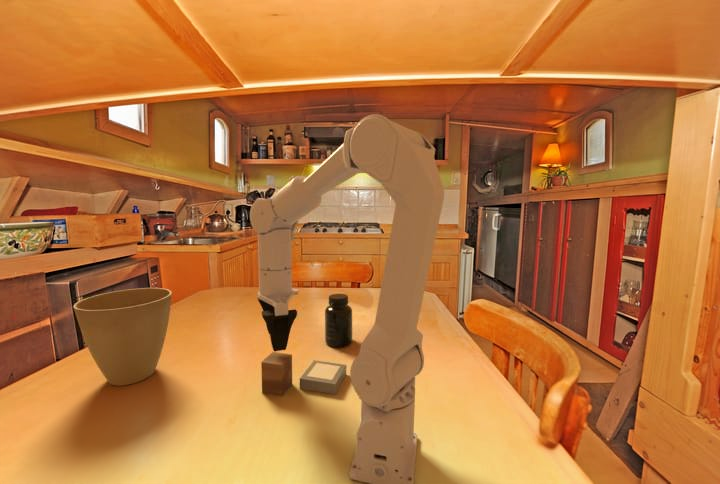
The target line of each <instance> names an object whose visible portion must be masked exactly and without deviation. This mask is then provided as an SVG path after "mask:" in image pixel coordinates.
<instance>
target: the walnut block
mask: <svg viewBox="0 0 720 484" xmlns="http://www.w3.org/2000/svg"><path fill="white" fill-rule="evenodd" d="M260 363H261V364H260V365H261V393H262V394H264V395H268V396H269V395H270V396H276V397H284V395H285V394H286V392H288V391H289V389H290V388H291V386H292V385H293V354H291V353H286V352H285V353H283V352H278V351H272V352H271V353H270V354H269V355H268V356H266V358H264V359H263V360H262V361H261V362H260Z"/></svg>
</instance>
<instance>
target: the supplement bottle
mask: <svg viewBox="0 0 720 484" xmlns="http://www.w3.org/2000/svg"><path fill="white" fill-rule="evenodd" d="M324 337H325V338H324V339H325V344H326V345H327V346H329V347H331V348H334V349H335V348H336V349H340V348H346V347H349V346H350V345H351V344H352V342H353V308H352V307H351V305H349V295H347V294H345V293H333V294H330V295H328V306H326V307H325V310H324Z"/></svg>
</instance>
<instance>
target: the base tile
mask: <svg viewBox="0 0 720 484" xmlns="http://www.w3.org/2000/svg"><path fill="white" fill-rule="evenodd" d="M346 376H347V364H345V363H344V364H343V363H335V362H330V361H321V360H315V359H314V360H313V361H312V362H311V364H310V365H309V366H308V368H307V369H306V370H305V371H304V372H303V374H302V375H301V376H300V377H299V389H300V390H304V391H305V390H306V391H310V392H311V391H312V392H319V393H325V394H330V395H336V394H337V393H338V390H339V388H340V387H341V385H342V383H343V382H344V379H345V377H346Z"/></svg>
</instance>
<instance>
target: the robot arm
mask: <svg viewBox="0 0 720 484" xmlns="http://www.w3.org/2000/svg"><path fill="white" fill-rule="evenodd" d="M435 155H436V147H434V146H433V145H432V143H431V142H430V141H429V140H428V139H427V138H426V137H425V135H423V134H422V133H421V132H420V131H417V130H413V129H411V128H407V127H405V126H403V125H401V124H399V123H397V122H394V121H392V120H390V119H389V118H388V117H386V116H385V115H382V114H378V113H373V114H368V115H366V116H365V117H363V118H361V119H360V120H359V121H358V123H357V124H356V125H355V126H353V127H352V128H350V129H348V130H346V132H345V134H344V140H343V143H342V144H341V145H340V146H339V147H338V148H337V149H336V150H335V151H334V152H332V153H331V154H330V155H329V157H327V158H326V159H325V160H324V161H323V162H322V163H321V164H319V166H318V167H316V169H314V170H313V171H312V172H311V173H310V174H309V175H308V176H304V175H296V176H295V175H292V176H291V177H290V178H288V182H287V184H285V185H284V186H283V187H281V188H280V189H279V190H278V191H275V192H273V194H272V196H271V197H269V198H268V197H267V198H260V197H258V198H256V199H255V201H254V202H253V203H252V205H251V207H250V210H249V221H250V224H251V227H252V229H253V231H254V232H256V233H257V259H258V260H257V261H258V262H257V263H258V264H257V265H258V292H257V301H258V303H259V304H260V307H261V308H262V311H261V316H262V319H263V320H264V322H265V325H266V329H267V332H268V334H269V337H270V343H271V348H272V350H273V352H278V351H285V350H286V349H287V347H288V343H289V338H290V333H291V330H292V329H291V328H292V326H293V324H294V321H295V320H296V319H297V317H298V310H297V309H296V308H295V309H289V303H290V302H291V299H292V298H293V296H296V295H299V294H300V291H299V289H298V288H293V268H292V267H293V266H292V264H293V261H292V260H293V259H292V251H293V250H292V242H293V241H294V239H295V231H296V229H297V227H298V224H299V220H301V219H303V218H304V217H306V216H307V215H309V214H310V213H311V212H313V211H314V210H316V209H317V208H318V207H319V206H320V205H321V202H322V196H323V195H325V194H326V193H328V192H330V191H331V190H333V189H335V188H336V187H338V186H340V185H342V184H343V183H344V182H347V181H348V180H350V179H352V178H354V177H355V176H356V175H357V174H365V175H368V176H369V177H371V178H372V179H374V180H375V181H376V182H378V183H380V184H381V186H382V187H383V188H384V191H386V193H387V194H388V195H389V196H390V198H391V199H392V200H393V202H394V204H395V207H394V213H393V219H392V224H391V230H390V235H389V240H388V241H389V242H388V245H387V251H386V258H385V263H384V269H383V275H382V282H381V286H380V291H379V292H380V293H379V297H378V303H377V309H376V315H375V321H374V323H373V325H372V326H371V329H370V330H369V332H368V333H367V334H366V336H365V337H364V338H363V341H362V342H361V344H360V349H359V352H358V355H357V357H356V358H355V359H354V360H353V362H352V363H351V365H350V370H349V376H350V382H351V385H352V387H353V390H354V392H355V393H356V395H357V396H358V398H359V400H361V403H360V404H361V406H360V407H361V408H360V409H361V410H360V413H361V414H360V423H359V427H358V429H357V433H356V451H355V453H354V455H353V459H352V461H351V465H350V468H349V472H348V477H349V478H350V479H351V480H355V481H358V482H362V483H366V484H367V483H368V484H414V482H415V471H416V456H417V448H418V447H417V446H418V445H417V444H418V434H417V433H416V432H415V410H416V409H415V407H416V405H415V403H416V387H415V386H416V377H417V376H418V375H419V374H420V373H421V372H422V371H423V368H424V366H425V356H424V352H423V348H422V347H423V345H422V343H423V338H424V334H423V333H422V332H421V331H420V330H419V329H418V328H417V327H418V323H419V319H420V314H421V309H422V304H423V299H424V295H425V290H426V286H427V280H428V275H429V270H430V266H431V263H432V257H433V251H434V246H435V242H436V238H437V234H438V230H439V229H438V228H439V223H440V218H441V214H442V209H443V205H444V198H445V190H444V189H445V188H444V186H443V182H442V179H441V176H440V172H439V168H438V166H437V162H436V159H435Z"/></svg>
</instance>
